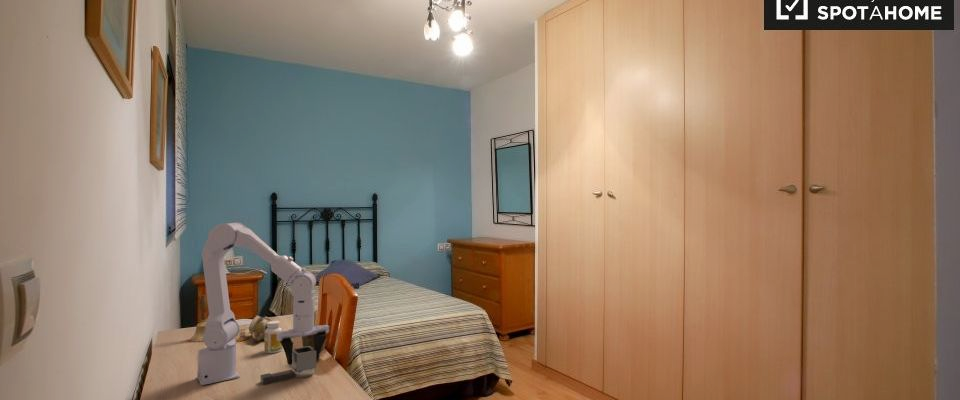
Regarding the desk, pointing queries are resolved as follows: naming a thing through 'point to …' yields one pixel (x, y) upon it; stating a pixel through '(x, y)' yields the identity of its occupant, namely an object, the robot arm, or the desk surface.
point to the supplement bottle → (272, 337)
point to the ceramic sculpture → (258, 327)
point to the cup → (310, 342)
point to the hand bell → (201, 326)
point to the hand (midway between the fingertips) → (303, 360)
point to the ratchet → (285, 375)
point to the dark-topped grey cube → (303, 358)
